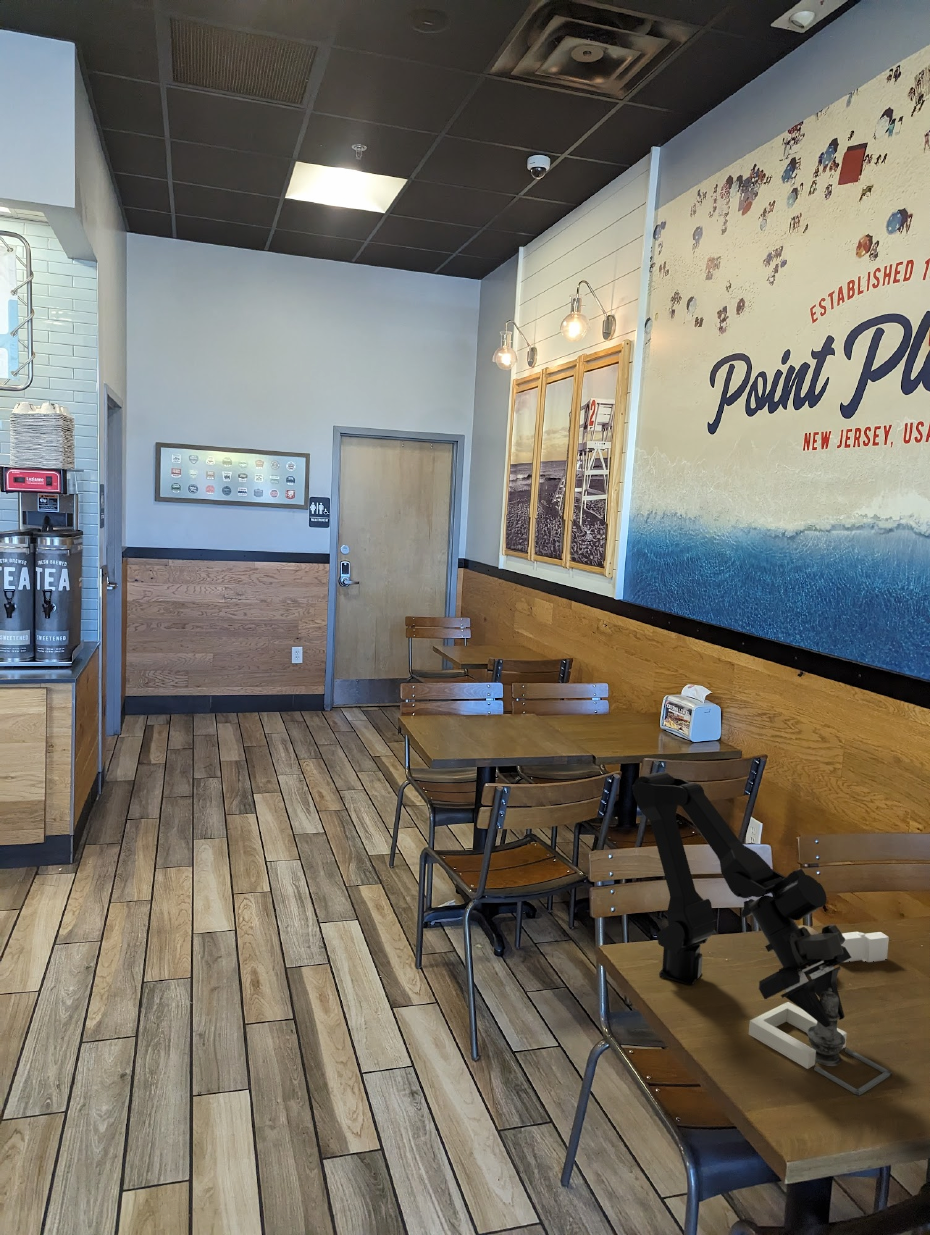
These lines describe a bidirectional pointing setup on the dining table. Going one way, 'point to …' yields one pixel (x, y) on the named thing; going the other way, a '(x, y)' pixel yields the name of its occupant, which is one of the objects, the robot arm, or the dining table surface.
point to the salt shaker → (827, 1033)
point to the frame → (867, 1086)
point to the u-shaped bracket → (781, 1041)
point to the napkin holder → (866, 946)
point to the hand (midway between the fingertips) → (835, 1022)
